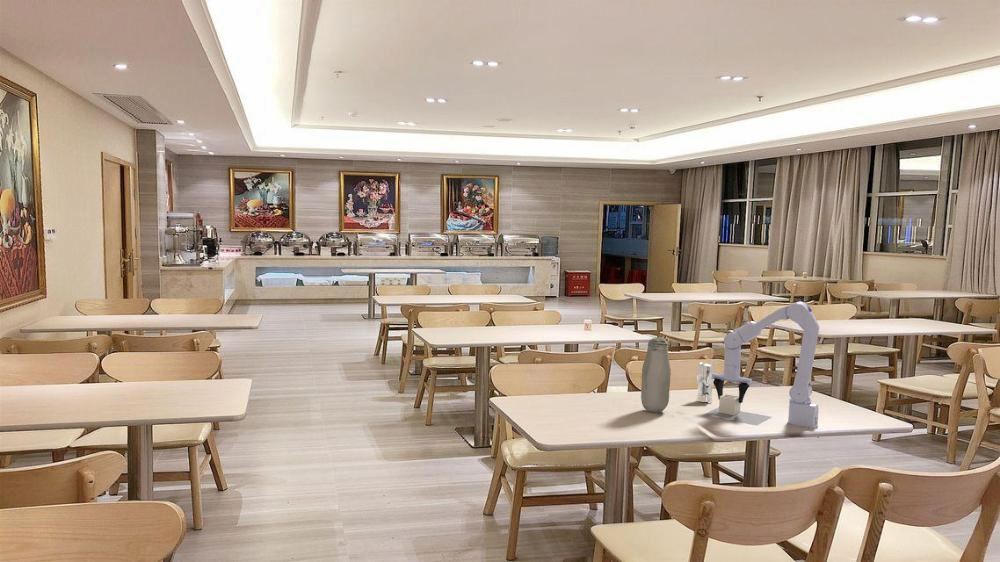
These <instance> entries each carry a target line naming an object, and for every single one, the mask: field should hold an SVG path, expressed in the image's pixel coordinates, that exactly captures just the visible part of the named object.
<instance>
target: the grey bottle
mask: <svg viewBox="0 0 1000 562" xmlns="http://www.w3.org/2000/svg"><path fill="white" fill-rule="evenodd" d="M671 371H672V369H671V363H670V357H669V343H668V341H667V340H666V339H665V338H664V337H659V336H658V337H652V338H650V339H649V341H648V342H647V350H646V354H645V358H644V361H643V364H642V368H641V388H640V389H641V391H640V399H641V404H642V407H643V409H645V411H648V412H650V413H660V412H661V413H662V412H663V411H664V410H665V409H666V408H667V407H668V404H669V401H670V390H671V389H670V388H671V386H670V385H671V378H672V377H671V375H672V374H671V373H672V372H671Z"/></svg>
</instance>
